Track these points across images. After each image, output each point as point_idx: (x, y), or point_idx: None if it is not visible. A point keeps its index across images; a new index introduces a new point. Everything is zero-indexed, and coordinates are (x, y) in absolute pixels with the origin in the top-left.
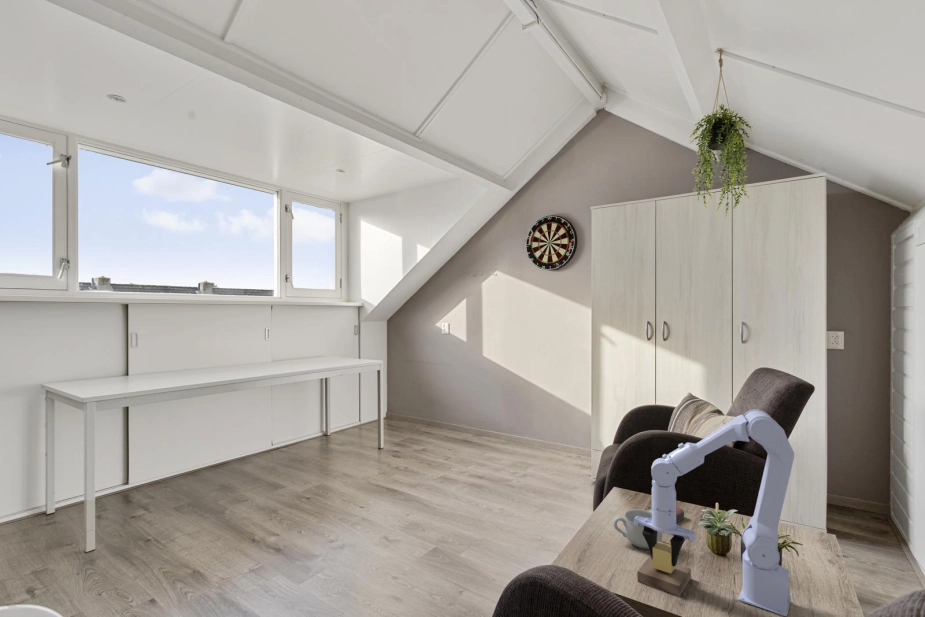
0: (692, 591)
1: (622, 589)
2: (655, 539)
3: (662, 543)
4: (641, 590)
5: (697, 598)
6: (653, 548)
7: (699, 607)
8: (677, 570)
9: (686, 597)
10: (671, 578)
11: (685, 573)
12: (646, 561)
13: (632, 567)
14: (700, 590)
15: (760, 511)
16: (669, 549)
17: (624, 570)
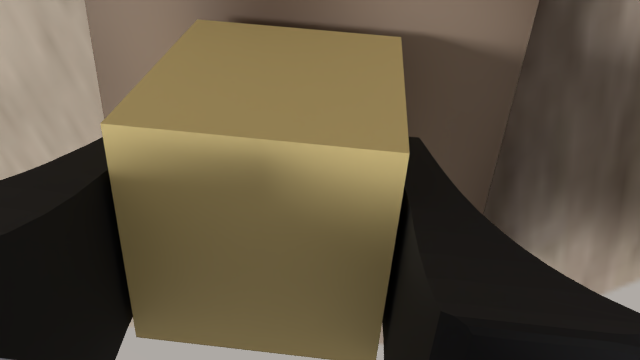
0: (545, 123)
1: (130, 322)
2: (77, 266)
3: (185, 160)
4: None
5: (580, 195)
6: (149, 335)
7: (586, 283)
8: (417, 53)
9: (500, 221)
10: None
11: (501, 69)
12: (98, 53)
13: (18, 27)
14: (614, 71)
15: None
16: (334, 283)
17: (6, 113)
